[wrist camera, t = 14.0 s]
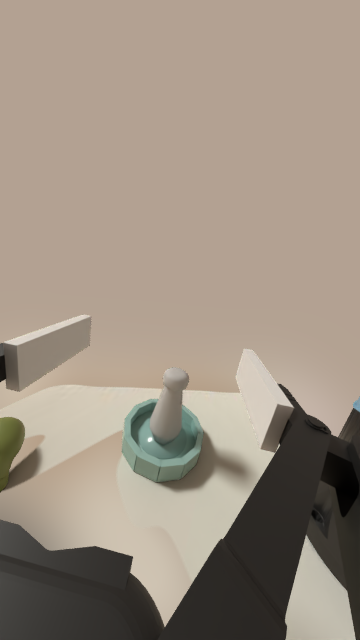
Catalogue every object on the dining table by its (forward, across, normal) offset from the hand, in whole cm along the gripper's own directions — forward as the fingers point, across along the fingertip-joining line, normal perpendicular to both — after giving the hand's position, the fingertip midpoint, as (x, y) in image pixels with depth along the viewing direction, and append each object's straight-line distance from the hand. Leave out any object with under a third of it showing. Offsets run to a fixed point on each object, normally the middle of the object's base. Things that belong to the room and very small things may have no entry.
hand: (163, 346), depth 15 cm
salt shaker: (+13, +1, -23) cm, 26 cm away
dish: (+13, +1, -24) cm, 27 cm away
